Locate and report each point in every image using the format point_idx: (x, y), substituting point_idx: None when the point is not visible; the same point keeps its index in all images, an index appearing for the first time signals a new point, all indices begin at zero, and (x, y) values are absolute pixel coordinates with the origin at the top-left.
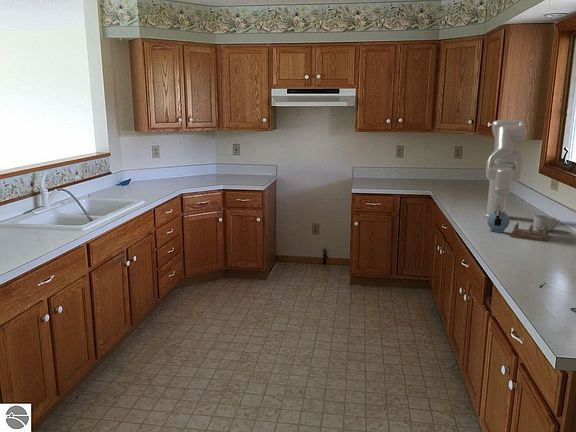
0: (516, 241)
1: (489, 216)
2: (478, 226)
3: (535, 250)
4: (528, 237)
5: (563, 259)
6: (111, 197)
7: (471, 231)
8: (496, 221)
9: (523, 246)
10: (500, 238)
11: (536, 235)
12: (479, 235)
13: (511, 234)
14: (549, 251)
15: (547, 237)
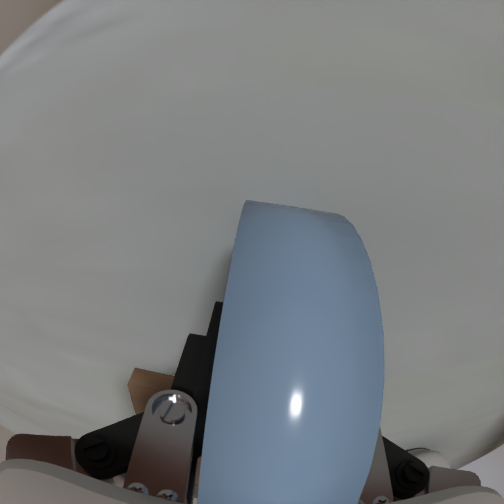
0: (57, 374)
1: (226, 299)
2: (449, 90)
3: (8, 395)
4: None
5: (4, 422)
6: None
7: (147, 15)
8: (181, 364)
9: (12, 376)
10: (46, 300)
11: (198, 469)
12: (30, 131)
13: (128, 386)
14: (35, 427)
15: (195, 483)
